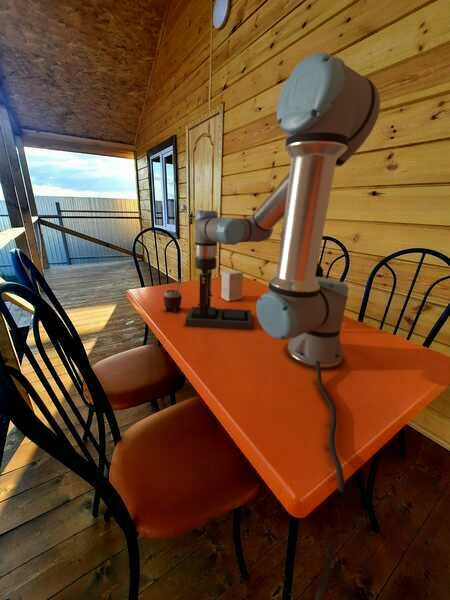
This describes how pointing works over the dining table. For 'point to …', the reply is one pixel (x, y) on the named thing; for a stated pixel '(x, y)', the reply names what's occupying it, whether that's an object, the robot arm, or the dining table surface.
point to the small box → (232, 285)
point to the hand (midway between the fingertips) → (205, 317)
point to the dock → (220, 320)
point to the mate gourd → (173, 299)
